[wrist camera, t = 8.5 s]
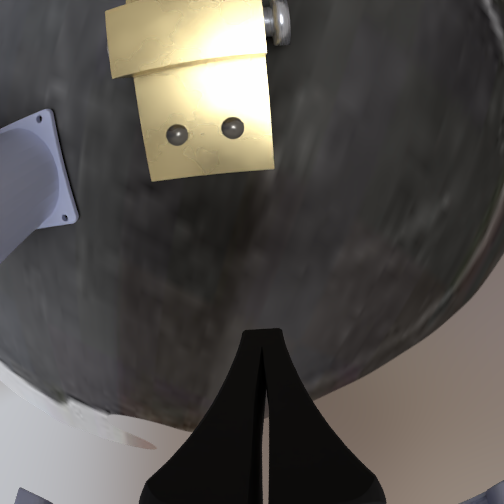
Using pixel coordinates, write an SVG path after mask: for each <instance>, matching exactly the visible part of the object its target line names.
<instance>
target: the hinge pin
mask: <svg viewBox="0 0 504 504" xmlns="http://www.w3.org/2000/svg"><path fill="white" fill-rule="evenodd" d="M269 6H270V7H262V8H263V17H264V27H265V37H270V36H272V38H273V44H274V46H278V45H290V36H291V30H290V15H289V8H288V3H287V0H269ZM107 52H108V55H109V50H108V40H107Z"/></svg>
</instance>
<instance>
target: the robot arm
mask: <svg viewBox="0 0 504 504" xmlns="http://www.w3.org/2000/svg"><path fill="white" fill-rule="evenodd" d="M40 116H41V117H42V121H40ZM65 215H66V216H67V217H68V219H67V218H66V217H65ZM78 218H79V215H78V211H77V208H76V205H75V202H74V198H73V195H72V191H71V188H70V184H69V180H68V177H67V173H66V169H65V165H64V161H63V157H62V153H61V148H60V144H59V139H58V135H57V130H56V125H55V120H54V114H53V111H52V110H51V109H44V110H41V111H39V112H37V113H34V114H32V115H29V116H27V117H25V118H22V119H20V120H18V121H16V122H14V123H11V124H9V125H7V126H5V127H3V128H1V129H0V264H1V263H2V261H3V260H4V259H5V258H6V257H7V256H8V255H9V254H10V253H11V252H12V251H13V250H14V249H15V248H16V247H17V246H18V245H19V244H20V243H22V242H23V241H24V240H25V239H26V238H27V237H28V236H29V235H30V234H31V233H32V232H33V231H34V230H35V229H40V228H46V227H53V226H59V225H66V224H73V223H75V222H76V221H77V220H78ZM266 390H267V398H268V405H269V503H268V504H386V498H385V495H384V492H383V489H382V487H381V485H380V483H379V481H378V479H377V477H376V476H375V474H373V473H372V472H371V471H370V470H369V469H368V468H367V467H366V466H365V465H364V464H363V463H362V462H361V461H360V460H359V459H358V458H357V457H356V456H355V455H354V454H353V453H352V452H351V451H350V450H349V449H348V448H347V446H345V444H344V443H343V442H342V441H341V439H340V438H339V437H338V436H337V435H336V433H335V432H334V431H333V430H332V429H331V427H330V426H329V425H328V423H327V422H326V420H325V419H324V417H323V416H322V415H321V413H320V412H319V410H318V409H317V407H316V406H315V404H314V403H313V401H312V399H311V398H310V396H309V394H308V392H307V391H306V389H305V387H304V385H303V383H302V382H301V380H300V378H299V376H298V374H297V371H296V369H295V367H294V365H293V363H292V361H291V358H290V356H289V353H288V350H287V348H286V345H285V341H284V337H283V333H282V330H281V329H280V328H273V329H256V330H245V331H244V332H243V333H242V338H241V341H240V345H239V348H238V351H237V353H236V356H235V359H234V361H233V364H232V366H231V368H230V370H229V373H228V375H227V377H226V379H225V381H224V383H223V385H222V387H221V389H220V391H219V393H218V395H217V396H216V398H215V400H214V402H213V403H212V405H211V407H210V408H209V410H208V411H207V413H206V414H205V416H204V418H203V419H202V420H201V422H200V423H199V425H198V426H197V427H196V429H195V430H194V431H193V433H192V434H191V435H190V437H189V438H188V439H187V440H186V442H185V443H184V444H183V445H182V446H181V447H180V448H179V449H178V451H177V452H176V453H175V454H174V455H173V456H172V457H171V458H170V460H168V462H166V464H164V465H163V466H162V467H161V468H160V469H159V470H158V471H157V472H156V473H155V474H154V475H153V476H152V477H150V478H149V479H148V480H147V481H146V483H145V486H144V488H143V491H142V493H141V496H140V500H139V504H263V491H262V435H263V423H264V411H265V398H266ZM15 504H53V503H51V502H49V501H48V500H46V499H44V498H42V497H40V496H38V495H35V494H33V493H31V492H29V491H27V490H25V489H23V488H19V490H18V493H17V497H16V500H15ZM459 504H504V480H503V481H501V482H499V483H498V484H496V485H494V486H493V487H491V488H490V489H488V490H487V491H486V492H484V493H482V494H479V495H477V496H475V497H473V498H471V499H469V500H467V501H464V502H462V503H459Z"/></svg>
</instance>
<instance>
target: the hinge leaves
mask: <svg viewBox="0 0 504 504" xmlns="http://www.w3.org/2000/svg"><path fill="white" fill-rule="evenodd" d="M105 17H106V29H107V40H108V50H109V58H110V67H111V74H112V79H116V78H130V77H134V83H135V90H136V97H137V103H138V110H139V116H140V122H141V128H142V134H143V139H144V145H145V150H146V155H147V161H148V166H149V171H150V176H151V180H152V182H153V181H161V180H168V179H176V178H184V177H192V176H201V175H210V174H220V173H231V172H242V171H254V170H268V169H274V156H273V142H272V129H271V116H270V104H269V92H268V81H267V70H266V59H265V57H266V54H267V47H266V37H265V27H264V17H263V8H262V0H126V4H125V5H122V6H119V7H116V8H113V9H110V10H107V11H105Z"/></svg>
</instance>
